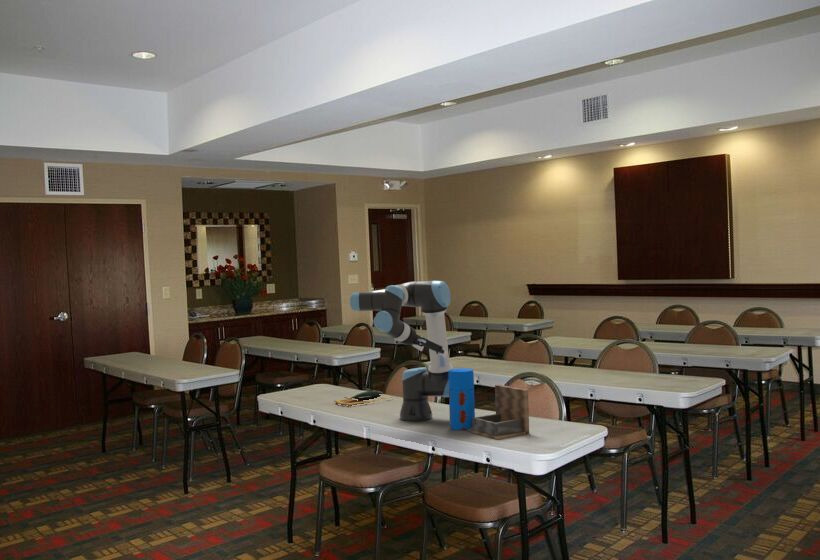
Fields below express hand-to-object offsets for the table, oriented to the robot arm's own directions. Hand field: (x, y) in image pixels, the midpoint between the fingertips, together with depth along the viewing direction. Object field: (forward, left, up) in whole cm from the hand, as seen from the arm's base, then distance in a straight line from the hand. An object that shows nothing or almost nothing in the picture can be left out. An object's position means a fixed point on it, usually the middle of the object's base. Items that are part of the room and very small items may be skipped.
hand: (434, 351), depth 298 cm
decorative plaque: (-86, +12, -35) cm, 94 cm away
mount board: (+17, +20, -34) cm, 43 cm away
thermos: (0, +14, -34) cm, 37 cm away
